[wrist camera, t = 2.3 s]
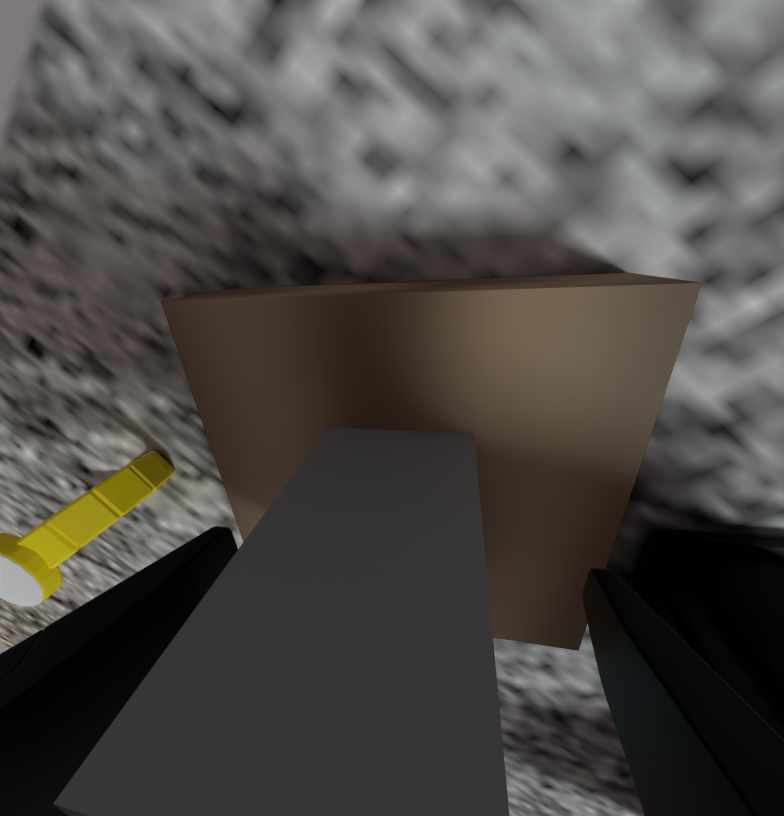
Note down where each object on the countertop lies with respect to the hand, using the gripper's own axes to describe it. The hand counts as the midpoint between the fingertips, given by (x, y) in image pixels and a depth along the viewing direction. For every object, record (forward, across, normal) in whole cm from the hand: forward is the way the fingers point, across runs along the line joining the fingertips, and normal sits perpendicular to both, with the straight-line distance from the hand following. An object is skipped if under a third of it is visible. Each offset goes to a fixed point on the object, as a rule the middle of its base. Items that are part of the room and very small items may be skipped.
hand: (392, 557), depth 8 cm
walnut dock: (+5, 0, 0) cm, 5 cm away
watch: (+5, +13, +2) cm, 14 cm away
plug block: (+2, 0, 0) cm, 2 cm away
